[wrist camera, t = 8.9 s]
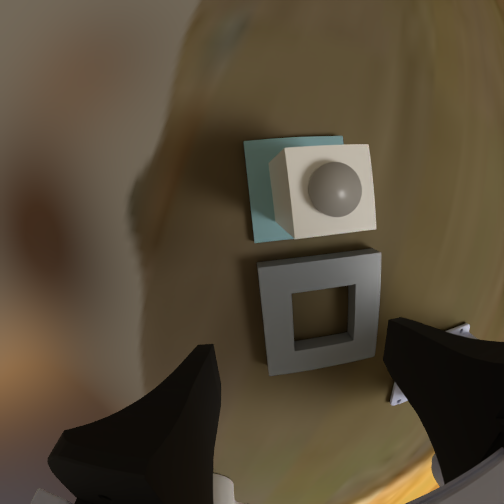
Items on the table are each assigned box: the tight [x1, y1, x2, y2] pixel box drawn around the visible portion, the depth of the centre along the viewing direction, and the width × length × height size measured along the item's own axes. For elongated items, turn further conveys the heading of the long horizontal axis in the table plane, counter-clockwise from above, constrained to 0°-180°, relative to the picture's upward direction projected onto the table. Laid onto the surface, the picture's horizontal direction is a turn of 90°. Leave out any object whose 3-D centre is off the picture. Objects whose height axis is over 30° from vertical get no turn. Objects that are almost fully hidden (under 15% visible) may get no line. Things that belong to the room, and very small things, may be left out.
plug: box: [268, 144, 376, 239], centre depth 15 cm, size 4×4×7 cm
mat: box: [244, 136, 351, 243], centre depth 19 cm, size 7×7×1 cm
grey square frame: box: [257, 248, 381, 376], centre depth 20 cm, size 9×9×2 cm
